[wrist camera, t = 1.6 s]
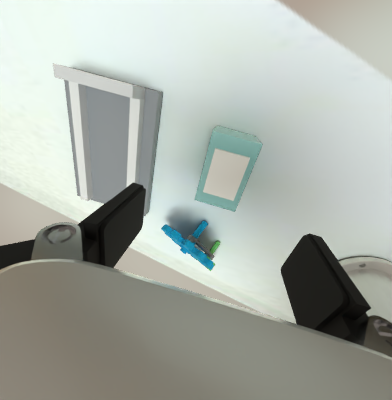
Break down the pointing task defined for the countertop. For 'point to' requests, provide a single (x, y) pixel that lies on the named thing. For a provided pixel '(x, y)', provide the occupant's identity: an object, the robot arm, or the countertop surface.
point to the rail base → (110, 133)
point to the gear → (189, 244)
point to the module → (227, 167)
